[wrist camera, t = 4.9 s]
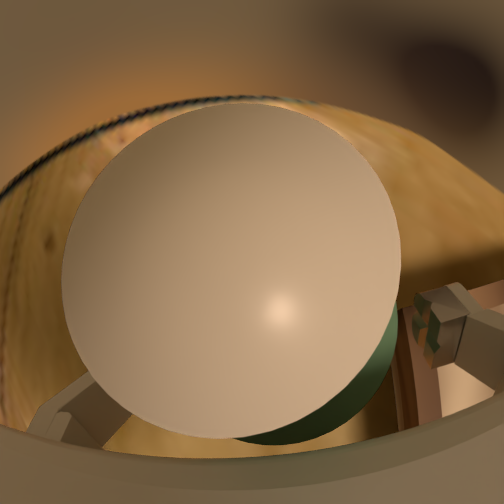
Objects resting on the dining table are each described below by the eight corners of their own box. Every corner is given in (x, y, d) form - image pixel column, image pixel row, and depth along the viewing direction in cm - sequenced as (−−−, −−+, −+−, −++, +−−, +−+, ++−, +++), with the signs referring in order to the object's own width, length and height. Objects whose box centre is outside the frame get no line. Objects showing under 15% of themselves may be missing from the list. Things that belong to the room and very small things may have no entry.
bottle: (263, 404, 16) (62, 567, 1) (232, 317, 17) (-1, 154, 3) (353, 369, 15) (592, 394, 1) (318, 284, 17) (346, 4, 3)
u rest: (401, 509, 12) (419, 536, 8) (382, 318, 16) (402, 308, 13) (548, 436, 10) (578, 441, 7) (532, 274, 15) (563, 257, 11)
